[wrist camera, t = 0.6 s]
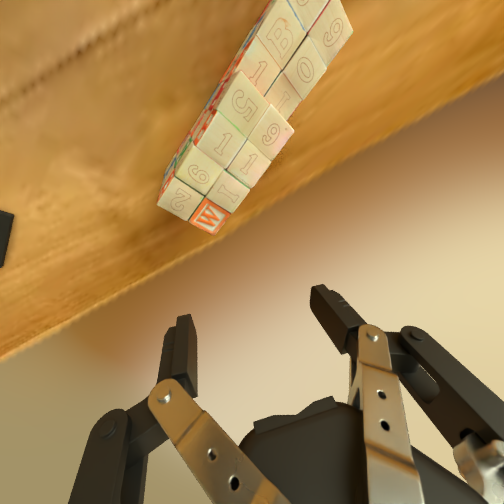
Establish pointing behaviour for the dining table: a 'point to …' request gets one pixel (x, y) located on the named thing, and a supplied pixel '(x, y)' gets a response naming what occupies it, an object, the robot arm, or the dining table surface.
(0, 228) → the word mat
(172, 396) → the robot arm
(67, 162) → the dining table surface
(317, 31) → the stack of blocks
